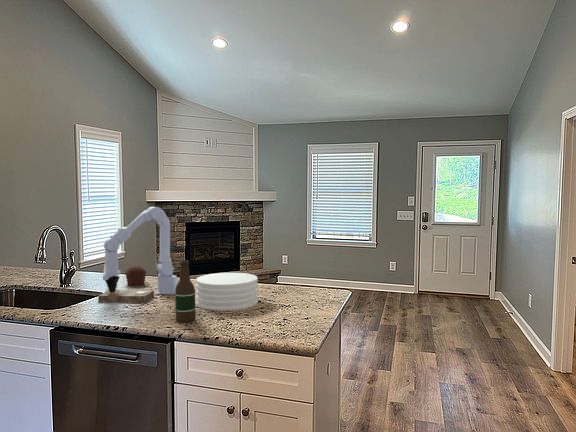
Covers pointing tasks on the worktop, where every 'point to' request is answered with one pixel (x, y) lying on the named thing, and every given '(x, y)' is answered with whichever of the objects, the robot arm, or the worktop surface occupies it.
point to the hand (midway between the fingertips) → (112, 292)
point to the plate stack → (226, 291)
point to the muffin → (135, 276)
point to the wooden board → (126, 296)
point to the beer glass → (106, 283)
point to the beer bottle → (184, 296)
